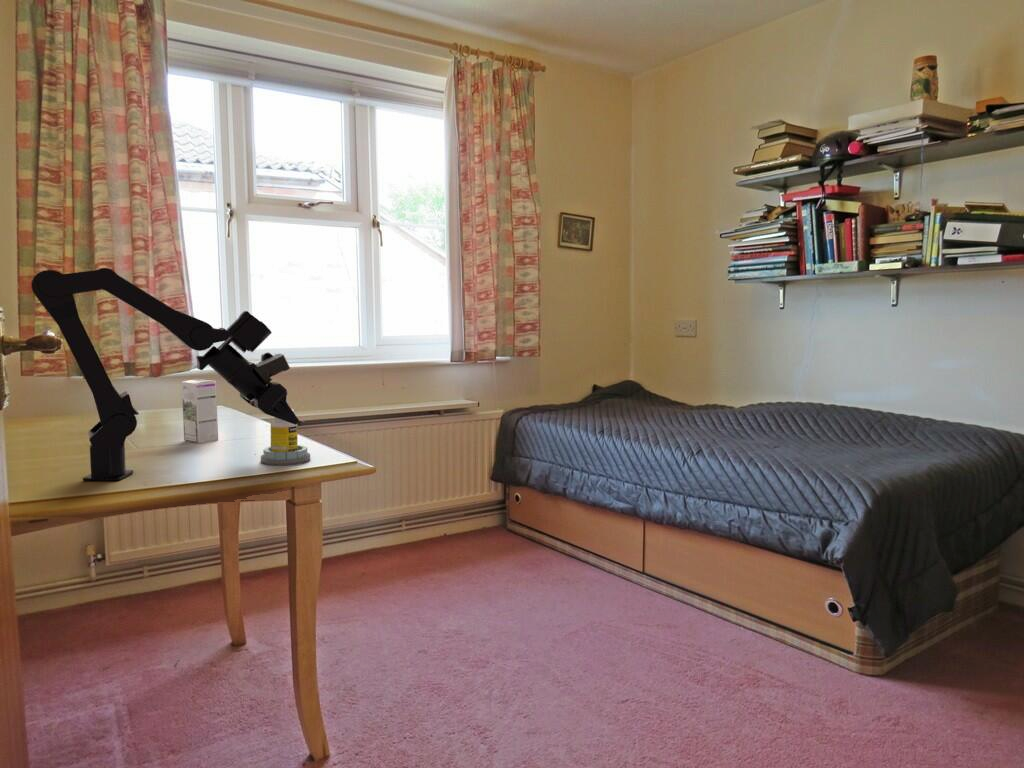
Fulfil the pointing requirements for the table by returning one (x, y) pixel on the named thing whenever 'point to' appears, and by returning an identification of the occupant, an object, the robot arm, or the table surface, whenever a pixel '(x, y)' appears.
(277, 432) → the supplement bottle
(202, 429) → the syrup box
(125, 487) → the table surface
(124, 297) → the robot arm
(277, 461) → the socket plate
